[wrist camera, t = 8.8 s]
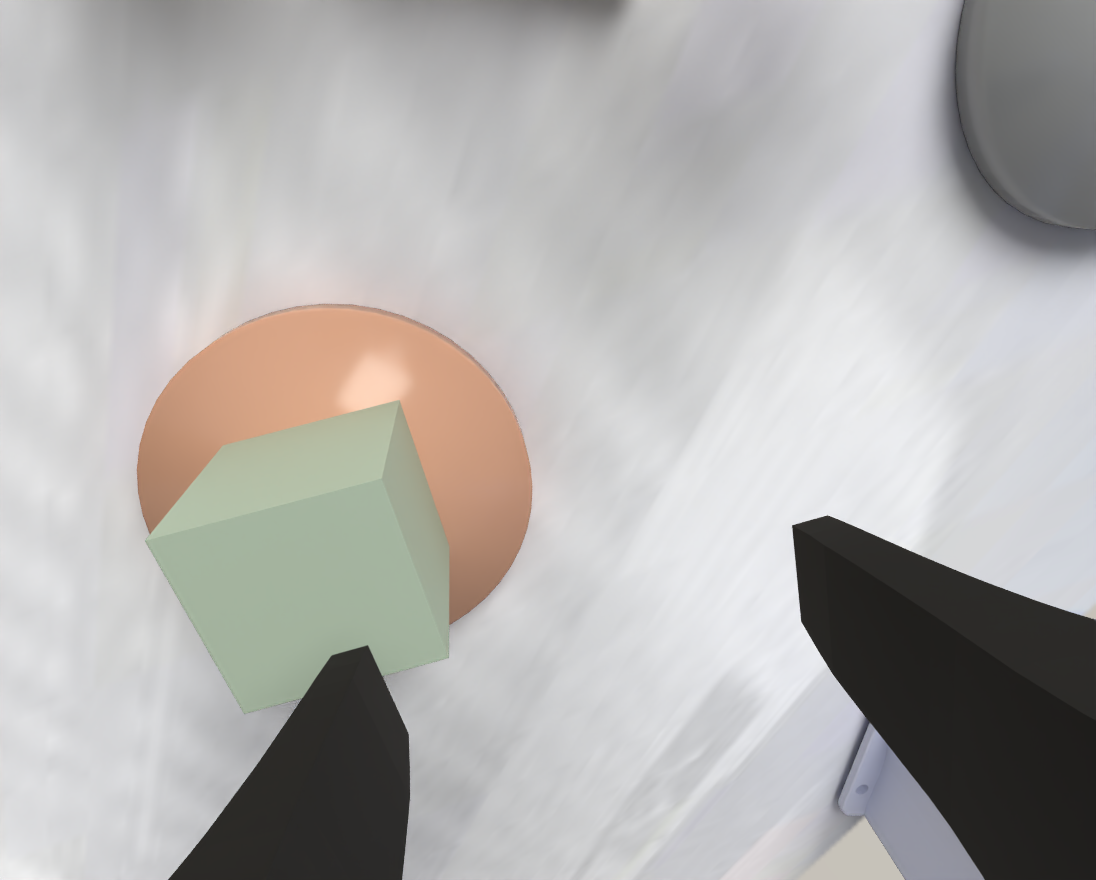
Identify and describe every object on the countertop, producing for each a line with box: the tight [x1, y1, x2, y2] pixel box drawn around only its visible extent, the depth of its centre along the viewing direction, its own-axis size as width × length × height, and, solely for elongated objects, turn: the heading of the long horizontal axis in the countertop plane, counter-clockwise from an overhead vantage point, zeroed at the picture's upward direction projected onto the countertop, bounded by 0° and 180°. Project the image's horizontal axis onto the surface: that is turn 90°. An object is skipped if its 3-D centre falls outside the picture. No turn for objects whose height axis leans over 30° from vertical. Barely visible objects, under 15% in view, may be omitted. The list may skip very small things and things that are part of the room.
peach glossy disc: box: [137, 304, 532, 625], centre depth 18 cm, size 10×10×1 cm
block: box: [145, 400, 449, 714], centre depth 15 cm, size 4×4×4 cm
